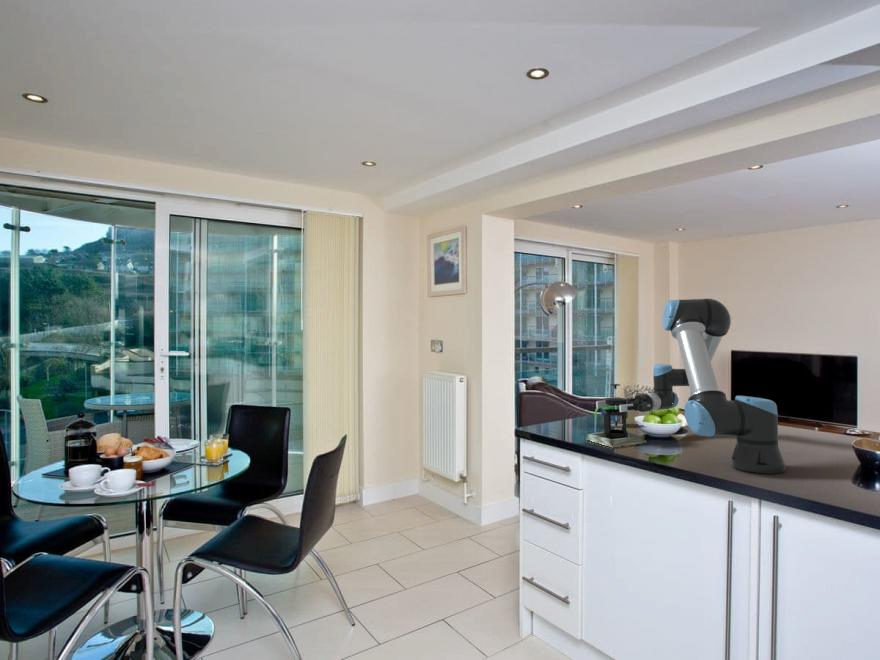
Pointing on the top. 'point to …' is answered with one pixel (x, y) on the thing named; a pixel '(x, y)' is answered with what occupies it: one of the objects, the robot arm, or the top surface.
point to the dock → (627, 441)
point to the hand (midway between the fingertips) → (608, 406)
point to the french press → (616, 412)
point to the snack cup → (613, 418)
